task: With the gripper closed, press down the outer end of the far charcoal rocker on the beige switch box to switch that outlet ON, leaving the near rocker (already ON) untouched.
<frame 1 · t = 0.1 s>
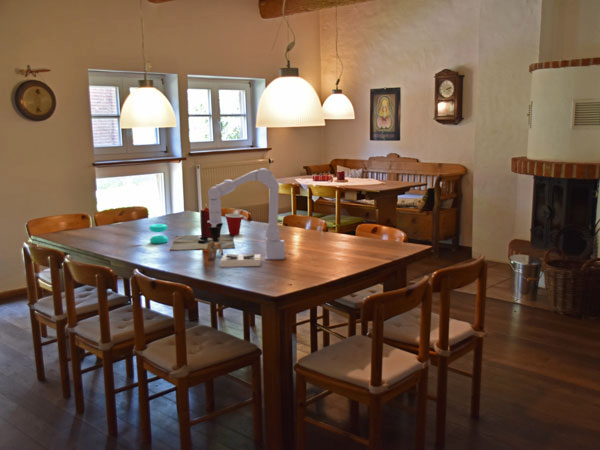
hand: (216, 239, 276), 10 cm above the table, tool pointing down, fingers open, 7 cm apart
rocker far: (232, 256, 266), point 4 cm above the table, hinge at -8.0°
beige switch box: (241, 263, 269), on the table
plastic cup: (234, 234, 342), on the table
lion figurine: (215, 257, 284), on the table
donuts: (159, 242, 322), on the table
rocker near: (249, 256, 266), point 4 cm above the table, hinge at 8.0°
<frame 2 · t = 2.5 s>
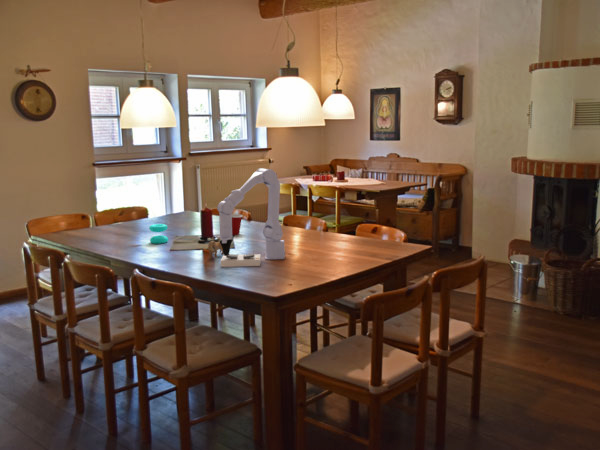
hand: (226, 255, 266), 5 cm above the table, tool pointing down, fingers closed, pressing on rocker far
rocker far: (232, 256, 266), point 4 cm above the table, hinge at -6.3°, touching gripper
everything else where it was.
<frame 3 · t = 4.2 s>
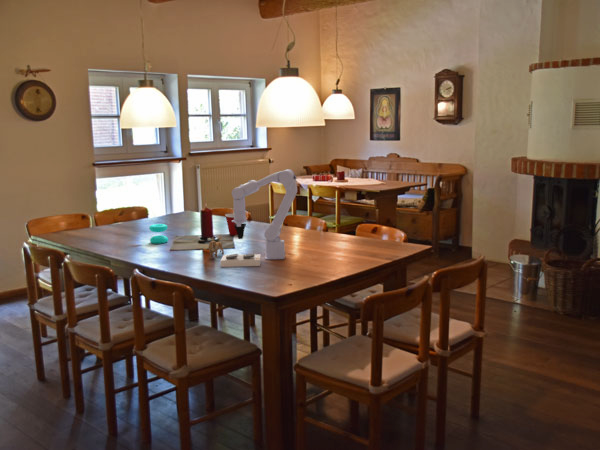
hand: (240, 238, 280), 9 cm above the table, tool pointing down, fingers closed
rocker far: (231, 256, 266), point 4 cm above the table, hinge at 6.9°
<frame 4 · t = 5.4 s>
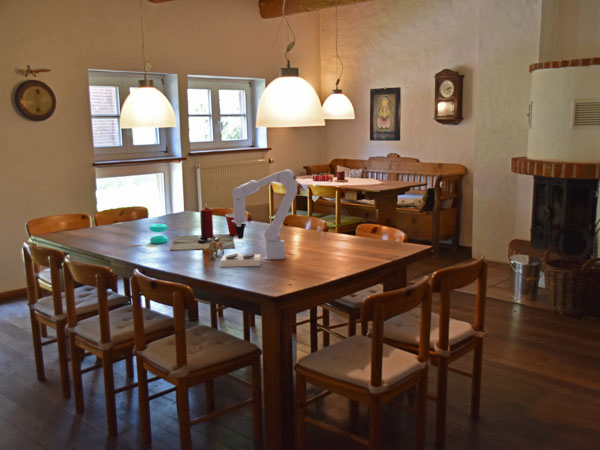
hand: (240, 238, 280), 9 cm above the table, tool pointing down, fingers closed
rocker far: (231, 256, 266), point 4 cm above the table, hinge at 12.0°
at the end: rocker far at +13° (first picture: -8°); rocker near at +8° (first picture: +8°) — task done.
